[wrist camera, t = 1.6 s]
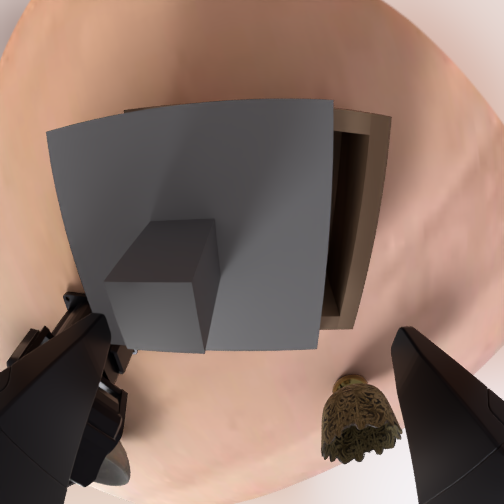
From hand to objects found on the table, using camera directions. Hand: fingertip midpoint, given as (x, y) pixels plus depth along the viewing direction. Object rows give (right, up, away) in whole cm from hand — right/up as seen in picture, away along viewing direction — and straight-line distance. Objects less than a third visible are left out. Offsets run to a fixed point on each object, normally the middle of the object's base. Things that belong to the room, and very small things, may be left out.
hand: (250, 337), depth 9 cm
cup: (+10, -11, +20) cm, 25 cm away
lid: (-3, +3, +6) cm, 8 cm away
